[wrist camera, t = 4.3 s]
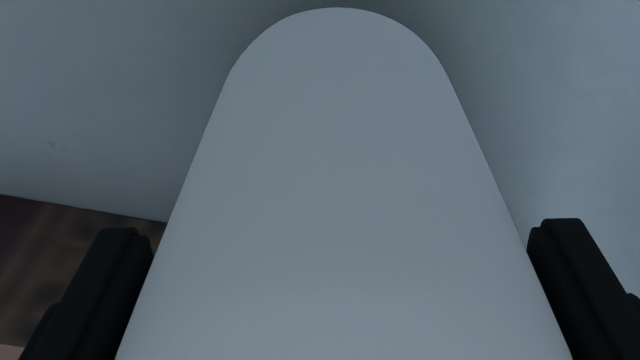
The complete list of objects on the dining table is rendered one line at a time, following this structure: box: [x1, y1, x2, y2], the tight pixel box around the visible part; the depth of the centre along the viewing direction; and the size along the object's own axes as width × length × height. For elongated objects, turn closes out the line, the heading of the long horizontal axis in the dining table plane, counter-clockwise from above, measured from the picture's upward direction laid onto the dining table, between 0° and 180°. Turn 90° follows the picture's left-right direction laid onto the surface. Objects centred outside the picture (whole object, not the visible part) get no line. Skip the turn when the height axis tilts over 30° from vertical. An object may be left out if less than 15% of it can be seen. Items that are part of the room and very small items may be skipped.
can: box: [115, 7, 573, 360], centre depth 11 cm, size 6×6×12 cm
